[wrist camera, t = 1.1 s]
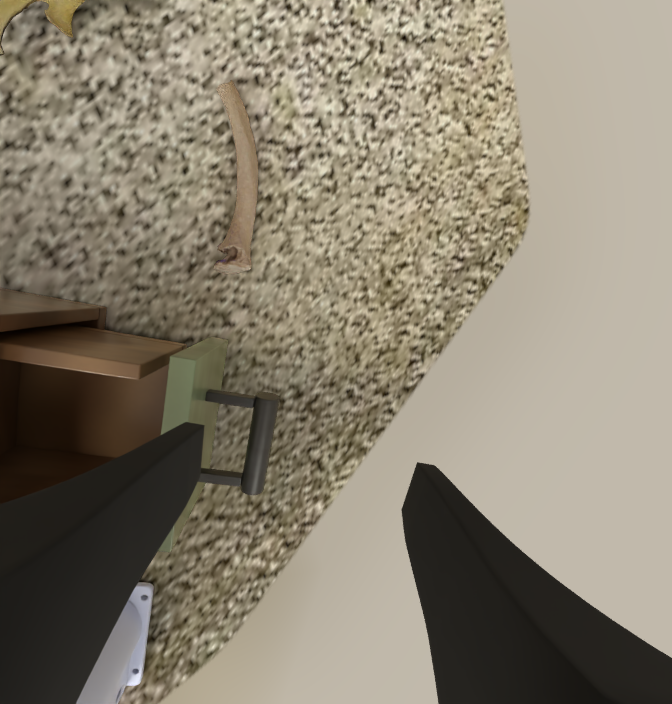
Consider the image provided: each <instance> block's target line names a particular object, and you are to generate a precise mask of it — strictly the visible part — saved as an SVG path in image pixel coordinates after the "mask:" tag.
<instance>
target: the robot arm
mask: <svg viewBox="0 0 672 704" xmlns="http://www.w3.org/2000/svg"><path fill="white" fill-rule="evenodd" d="M204 426H205V425H201V424H196V423H190V422H185V423H183V424H180V425H179V426H177V427H175V428H173V429H171V430H169V431H167V432H166V433H164V434H162V435H160V436H158V437H156V438H155V439H153V440H151V441H149V442H147V443H145V444H143V445H141V446H139V447H137V448H136V449H134V450H132V451H130V452H128V453H126V454H124V455H122V456H120V457H117V458H115V459H113V460H111V461H109V462H107V463H105V464H103V465H101V466H99V467H97V468H94V469H92V470H90V471H88V472H85V473H83V474H81V475H78V476H76V477H74V478H71V479H69V480H66V481H64V482H61V483H59V484H56V485H54V486H51V487H49V488H46V489H43V490H40V491H38V492H35V493H32V494H29V495H26V496H23V497H20V498H17V499H14V500H11V501H8V502H5V503H2V504H0V704H118V703H119V700H120V698H121V696H122V694H123V691H124V689H125V687H126V685H129V686H135V685H138V684H139V683H140V682H141V680H142V677H143V671H144V663H145V655H146V647H147V639H148V631H149V623H150V615H151V607H152V599H153V591H154V587H153V585H152V584H151V583H146V582H139V580H140V579H141V577H142V575H143V574H144V572H145V570H146V569H147V567H148V566H149V564H150V563H151V561H152V559H153V558H154V556H155V555H156V553H157V551H158V550H159V548H160V547H161V545H162V544H163V542H164V540H165V539H166V537H167V536H168V534H169V533H170V531H171V529H172V528H173V526H174V525H175V523H176V521H177V520H178V518H179V517H180V515H181V514H182V512H183V510H184V509H185V507H186V505H187V503H188V501H189V499H190V497H191V495H192V493H193V491H194V489H195V487H196V485H197V482H198V480H199V478H200V474H201V462H202V450H203V438H204ZM402 517H403V527H404V534H405V541H406V546H407V550H408V554H409V558H410V562H411V566H412V570H413V574H414V578H415V582H416V586H417V590H418V594H419V598H420V602H421V606H422V610H423V614H424V619H425V623H426V628H427V633H428V637H429V644H430V649H431V656H432V663H433V669H434V675H435V682H436V688H437V696H438V703H439V704H672V658H671V657H669V656H668V655H666V654H664V653H663V652H661V651H659V650H658V649H656V648H654V647H653V646H651V645H650V644H648V643H646V642H645V641H643V640H642V639H640V638H639V637H637V636H636V635H634V634H633V633H631V632H630V631H628V630H627V629H625V628H624V627H622V626H620V625H619V624H617V623H616V622H615V621H613V620H612V619H610V618H609V617H607V616H606V615H604V614H603V613H601V612H600V611H599V610H597V609H596V608H594V607H593V606H591V605H590V604H589V603H587V602H586V601H585V600H583V599H582V598H581V597H579V596H578V595H576V594H575V593H574V592H572V591H571V590H570V589H568V588H567V587H565V586H564V585H563V584H562V583H560V582H559V581H558V580H556V579H555V578H554V577H553V576H551V575H550V574H549V573H548V572H546V571H545V570H544V569H543V568H541V567H540V566H539V565H538V564H536V563H535V562H534V561H533V560H532V559H531V558H529V557H528V556H527V555H526V554H525V553H523V552H522V551H521V550H520V549H519V548H518V547H516V546H515V545H514V544H513V543H512V542H511V541H510V540H509V539H508V538H506V536H505V535H503V534H502V533H501V532H500V531H499V530H498V529H497V528H496V527H495V526H494V525H493V524H492V523H491V522H490V521H489V520H488V519H487V518H486V517H485V516H484V515H483V514H482V513H481V512H480V511H478V509H477V508H475V506H474V505H473V504H472V503H471V502H470V501H469V500H468V499H467V498H466V497H465V496H464V495H463V494H462V493H461V492H460V491H459V490H458V489H457V488H456V486H455V485H453V483H452V482H451V481H450V480H449V479H448V478H447V477H446V476H445V475H444V474H443V473H442V472H441V471H440V470H439V469H438V468H437V467H436V466H434V465H429V464H424V463H417V465H416V468H415V471H414V474H413V477H412V480H411V483H410V486H409V489H408V492H407V495H406V498H405V501H404V504H403V507H402ZM145 595H147V596H145Z"/></svg>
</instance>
